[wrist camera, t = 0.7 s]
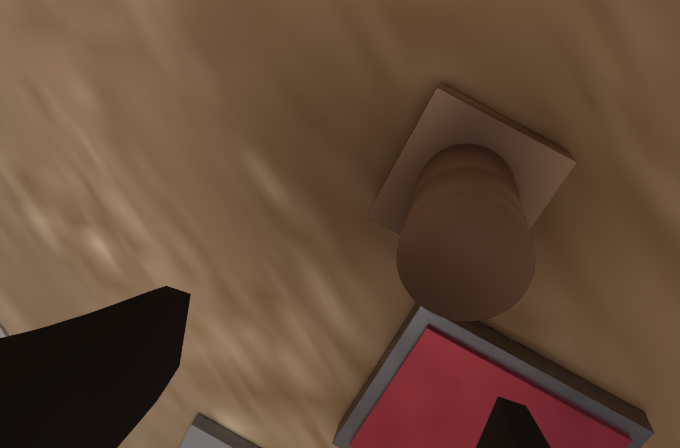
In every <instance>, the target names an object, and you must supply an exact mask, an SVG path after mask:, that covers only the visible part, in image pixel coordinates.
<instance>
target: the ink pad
mask: <svg viewBox="0 0 680 448" xmlns="http://www.w3.org/2000/svg"><path fill="white" fill-rule="evenodd" d="M498 396H499V397H502V398H505V399H508V400H511V401H514V402H517V403H520V404H523V405H526V407H527V408H528V410H529V411H530V413H531V415H532V416H533V418H534V420H535V421H536V423H537V425H538V427H539V428H540V430H541V432H542V434H543V435H544V437H545V439H546V440H547V442H548V444H549V445H550V447H551V448H640V447H641V446H642V445H643V444H644V443H645V442H646V441H647V440H648V439H649V438H650V437H651V436H652V435H653V434H654V432H653V430H652V427H651V425H650V423H649V421H648V418H647V416H646V414H645V413H644V412H643V411H641V410H639V409H637V408H635V407H633V406H632V405H630V404H628V403H626V402H624V401H622V400H621V399H619V398H617V397H615V396H613V395H611V394H610V393H608V392H606V391H604V390H602V389H601V388H599V387H597V386H595V385H593V384H591V383H590V382H588V381H586V380H584V379H582V378H580V377H579V376H577V375H575V374H573V373H571V372H569V371H568V370H566V369H564V368H562V367H560V366H559V365H557V364H555V363H553V362H551V361H549V360H548V359H546V358H544V357H542V356H540V355H538V354H537V353H535V352H533V351H531V350H529V349H527V348H526V347H524V346H522V345H520V344H518V343H517V342H515V341H513V340H511V339H509V338H507V337H506V336H504V335H502V334H500V333H498V332H496V331H495V330H493V329H491V328H489V327H487V326H485V325H484V324H482V323H480V322H478V321H455V320H450V319H446V318H443V317H440V316H437V315H435V314H433V313H431V312H429V311H428V310H426V309H425V308H423V307H422V306H421V305H419V304H418V303H416V304H415V306H414V308H413V309H412V311H411V312H410V314H409V315H408V317H407V319H406V320H405V322H404V323H403V325H402V326H401V328H400V329H399V331H398V333H397V334H396V336H395V337H394V339H393V340H392V342H391V344H390V345H389V347H388V348H387V350H386V351H385V353H384V354H383V356H382V358H381V359H380V361H379V362H378V364H377V365H376V367H375V369H374V370H373V372H372V373H371V375H370V376H369V378H368V380H367V381H366V383H365V384H364V386H363V387H362V389H361V390H360V392H359V394H358V395H357V397H356V398H355V400H354V401H353V403H352V405H351V406H350V408H349V409H348V411H347V412H346V414H345V416H344V417H343V419H342V420H341V422H340V423H339V425H338V427H337V431H336V434H335V437H334V440H333V443H332V444H334V445H336V446H338V447H340V448H476V446H477V444H478V441H479V439H480V437H481V434H482V432H483V430H484V427H485V425H486V423H487V420H488V418H489V416H490V413H491V411H492V409H493V406H494V404H495V402H496V399H497V397H498Z"/></svg>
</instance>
